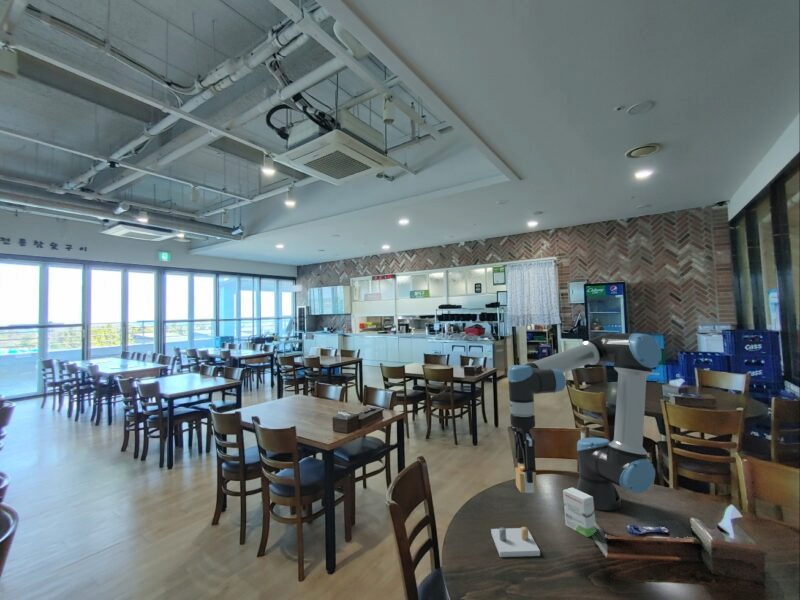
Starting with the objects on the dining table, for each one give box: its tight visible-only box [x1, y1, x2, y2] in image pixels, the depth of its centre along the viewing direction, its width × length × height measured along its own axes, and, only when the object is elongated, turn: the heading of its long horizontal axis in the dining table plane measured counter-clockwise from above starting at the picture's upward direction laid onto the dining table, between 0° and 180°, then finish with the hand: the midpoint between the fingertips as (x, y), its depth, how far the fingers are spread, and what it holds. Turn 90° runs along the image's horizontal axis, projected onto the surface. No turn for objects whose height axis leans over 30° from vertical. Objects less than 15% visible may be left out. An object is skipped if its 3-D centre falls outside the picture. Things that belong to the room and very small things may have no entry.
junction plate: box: [490, 526, 541, 558], centre depth 114 cm, size 12×12×5 cm
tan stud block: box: [514, 464, 538, 494], centre depth 114 cm, size 5×5×7 cm
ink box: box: [562, 487, 596, 538], centre depth 120 cm, size 9×5×12 cm, turn 26°
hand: (526, 487), depth 114 cm, fingers closed on tan stud block, 5 cm apart
